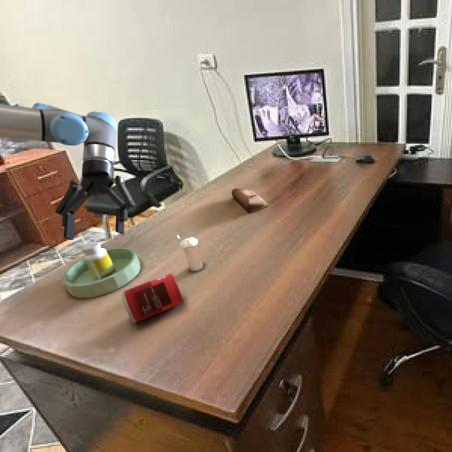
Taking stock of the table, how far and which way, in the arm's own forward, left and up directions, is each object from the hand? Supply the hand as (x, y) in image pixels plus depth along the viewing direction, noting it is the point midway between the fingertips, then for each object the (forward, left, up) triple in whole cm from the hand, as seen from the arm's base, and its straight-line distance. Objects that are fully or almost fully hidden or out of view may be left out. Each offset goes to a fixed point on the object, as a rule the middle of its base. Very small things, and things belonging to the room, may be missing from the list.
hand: (94, 235), depth 94 cm
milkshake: (+25, -4, -12) cm, 28 cm away
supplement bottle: (0, -3, -11) cm, 12 cm away
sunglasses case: (+35, +36, -12) cm, 52 cm away
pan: (0, -3, -12) cm, 12 cm away
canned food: (+26, -18, -8) cm, 32 cm away
